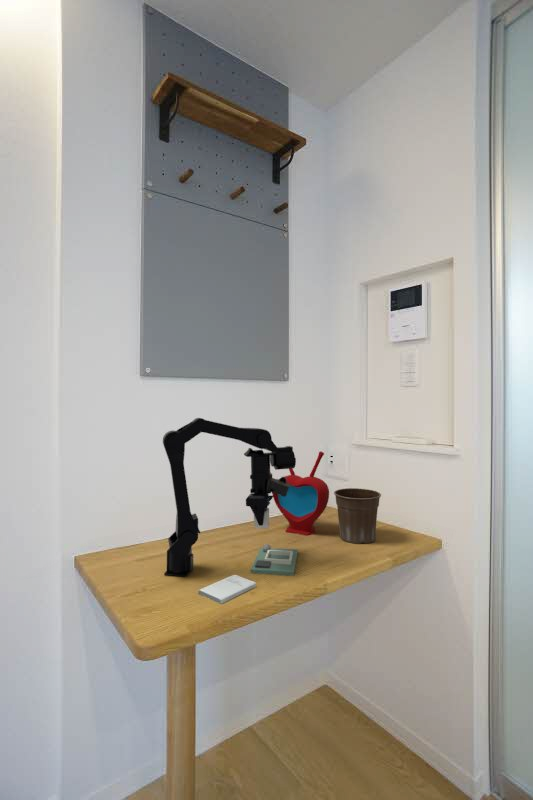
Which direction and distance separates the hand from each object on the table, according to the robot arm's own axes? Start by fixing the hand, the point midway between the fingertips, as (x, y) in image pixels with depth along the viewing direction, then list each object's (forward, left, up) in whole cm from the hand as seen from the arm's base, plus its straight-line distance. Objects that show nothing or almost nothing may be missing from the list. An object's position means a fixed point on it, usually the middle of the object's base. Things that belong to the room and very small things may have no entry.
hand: (261, 523), depth 123 cm
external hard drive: (-6, -19, -12) cm, 24 cm away
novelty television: (+10, +34, -12) cm, 37 cm away
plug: (0, 0, -1) cm, 1 cm away
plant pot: (+30, +27, -12) cm, 42 cm away
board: (+4, +1, -12) cm, 12 cm away
